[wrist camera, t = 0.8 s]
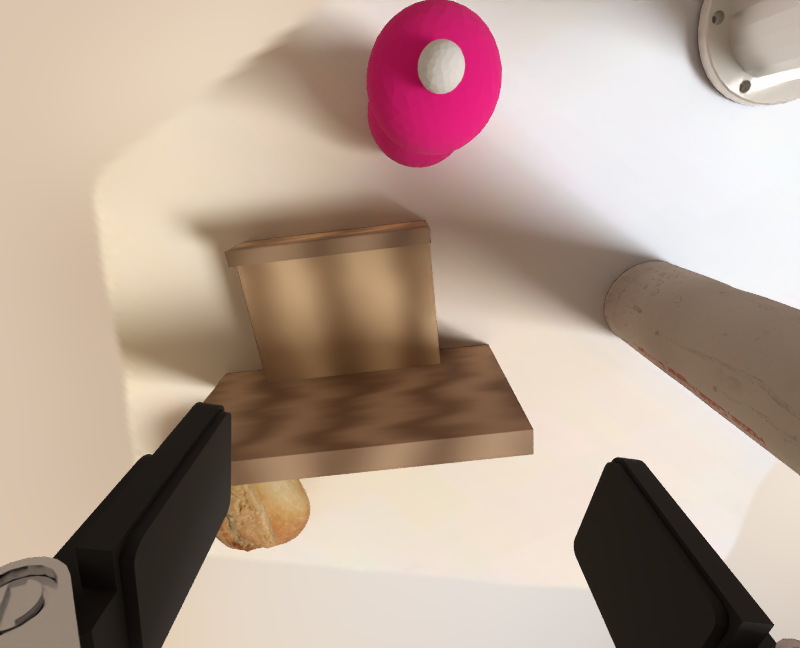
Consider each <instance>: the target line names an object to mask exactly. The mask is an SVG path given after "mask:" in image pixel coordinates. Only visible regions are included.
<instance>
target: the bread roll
mask: <svg viewBox="0 0 800 648" xmlns="http://www.w3.org/2000/svg"><path fill="white" fill-rule="evenodd" d="M309 515H310V503H309V499H308V497H307V494H306V492H305V490H304V489H303V487H302V485H301V483H300V481H299V479H292V480H282V481H273V482H263V483H254V484H244V485H235V486H231V501H230V506H229V509H228V512H227V515H226V517H225V519H224V521H223V523H222V525H221V527H220V529H219V531H218V533H217V535H216V538H217V539H219V540H220V541H221V542H222V543H224V544H225V545H226V546H228V547H230V548H233V549H240V550H245V551H247V552H248V551H250V550H253V549H256V548H261V547H264V548H269V547H273V546H277V545H280V544H283V543H287V542H288V541H290V540H292V539H294V538H296V537H297V536H298V535H299V534H300V532H301V531H302V530H303V529H304V527H305V525H306V523H307V521H308V519H309Z"/></svg>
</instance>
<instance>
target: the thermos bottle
mask: <svg viewBox="0 0 800 648" xmlns="http://www.w3.org/2000/svg"><path fill="white" fill-rule="evenodd" d="M604 314H605V319H606V322H607V324H608V326H609V328H610V329H611V330H612V331H613V332H614V333H615V334H616V335H617V336H618V337H619V338H621V339H622V340H623V341H625V342H626V343H627V344H629V345H630V346H631V347H633V348H634V349H635V350H636V351H638V352H639V353H640V354H642V355H643V356H644V357H646V358H647V359H648V360H650V361H651V362H652V363H653V364H655V365H656V366H657V367H659V368H660V369H661V370H663V371H664V372H665V373H667V374H668V375H669V376H671V377H672V378H673V379H675V380H676V381H677V382H679V383H680V384H682V385H683V386H684V387H686V388H687V389H688V390H690V391H691V392H692V393H693V394H695V395H696V396H697V397H699V398H700V399H701V400H702V401H704V402H705V403H706V404H707V405H709V406H710V407H711V408H712V409H714V410H715V411H716V412H718V413H719V414H720V415H722V416H723V417H724V418H726V419H727V420H728V421H729V422H731V423H732V424H733V425H735V426H736V427H737V428H739V429H740V430H741V431H743V432H744V433H745V434H746V435H748V436H749V437H750V438H752V439H753V440H754V441H756V442H757V443H758V444H760V445H761V446H762V447H764V448H765V449H766V450H767V451H769V452H770V453H771V454H773V455H774V456H775V457H777V458H778V459H779V460H781V461H782V462H783V463H785V464H786V465H787V466H788V467H790V468H791V469H792V470H794V471H795V472H796V473H798V474H799V475H800V310H799V309H796V308H793V307H791V306H788V305H785V304H782V303H779V302H777V301H774V300H771V299H768V298H765V297H762V296H759V295H756V294H753V293H749V292H746V291H742V290H739V289H736V288H734V287H731V286H729V285H727V284H725V283H722V282H720V281H717V280H714V279H712V278H709V277H706V276H704V275H701V274H698V273H695V272H692V271H690V270H687V269H684V268H681V267H678V266H676V265H673V264H670V263H667V262H661V261H650V262H645V263H641V264H639V265H636V266H634V267H632V268H630V269H629V270H627V271H626V272H624V273H623V274H622V275H621V276H620V277H618V278H617V280H616V281H615V282H614V283H613V285H612V286H611V288H610V290H609V292H608V294H607V297H606V300H605V305H604Z"/></svg>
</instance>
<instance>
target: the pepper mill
mask: <svg viewBox="0 0 800 648" xmlns="http://www.w3.org/2000/svg"><path fill="white" fill-rule="evenodd" d="M501 76H502V66H501V61H500V55H499V50H498V48H497V45H496V42H495V39H494V37H493V35H492V33H491V32H490V30H489V28H488V27H487V25H486V24H485V23H484V22H483V20H482V19H481V18H480V17H479V16H478V15H477V14H476V13H474V12H473V11H471V10H470V9H469V8H467V7H466V6H463V5H461V4H459V3H456V2H454V1H449V0H425V1H421V2H418V3H414V4H412V5H410V6H408V7H407V8H405V9H403V10H402V11H401V12H399V13H398V14H397V15H395V16H394V17H393V18H392V19H391V20H390V21H389V22H388V23H387V24H386V25H385V26H384V28H383V29H382V31H381V33H380V34H379V36H378V37H377V39H376V42H375V44H374V46H373V49H372V52H371V55H370V59H369V63H368V69H367V92H368V98H369V102H368V121H369V127H370V130H371V133H372V135H373V137H374V139H375V142H376V143H377V145H378V146H379V147H380V149H381V150H382V151H383V152H384V153H385V154H386V155H387V156H388V157H389V158H391V159H392V160H394V161H396V162H397V163H399V164H402V165H405V166H409V167H426V166H431V165H434V164H436V163H438V162H440V161H442V160H444V159H445V158H447V157H448V156H449V155H450V154H451V153H452V152H453V151H454V150H456V149H459V148H461V147H462V146H464V145H465V144H467V143H468V142H470V141H471V140H472V139H473V138H474V137H475V136H477V135H478V134H479V133H480V132H481V130H482V129H483V128H484V127H485V125H486V124H487V123H488V121H489V119H490V117H491V115H492V113H493V112H494V109H495V107H496V104H497V101H498V98H499V94H500V88H501Z"/></svg>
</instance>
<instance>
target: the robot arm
mask: <svg viewBox="0 0 800 648" xmlns="http://www.w3.org/2000/svg"><path fill="white" fill-rule="evenodd" d="M698 46H699V52H700V57H701V62H702V65H703V67H704V69H705V72H706V74H707V77H708V78H709V79H710V81H711V82H712V84H713V85H714V86H715V88H716V89H717V90H718V91H720V92H721V93H722V94H723V95H724V96H725V97H727V98H729V99H731V100H733V101H735V102H737V103H740V104H744V105H749V106H770V105H776V104H782V103H786V102H789V101H793V100H796V99H799V98H800V0H704V1H703V5H702V8H701V13H700V20H699V26H698ZM231 419H232V418H231V413H230V412H225V409H224V406H222V405H217V404H210V403H202V402H198V403H196V404H195V405H194V406H193V407H192V409H191V410H190V411H189V412H188V413H187V415H186V416H185V417H184V418H183V419H182V420H181V422H180V423H179V424H178V425H177V426H176V428H175V429H174V430H173V431H172V432H171V434H170V435H169V436H168V437H167V438H166V440H165V441H164V442H163V443H162V444H161V445H160V447H159V448H158V449H157V450H156V451H155V453H154V454H153V455H151V454H147V455H145V456H143V457H141V458H140V459H139V460H138V461H137V462H136V463H135V465H134V466H133V467H132V468H131V469H130V470H129V472H128V473H127V474H126V475H125V476H124V477H123V478H122V480H121V481H120V482H119V483H118V484H117V485H116V486H115V487H114V489H113V490H112V491H111V492H110V493H109V495H108V496H107V497H106V498H105V499H104V500H103V501H102V503H101V504H100V505H99V506H98V507H97V508H96V509H95V510H94V512H93V513H92V514H91V515H90V516H89V517H88V519H87V520H86V521H85V522H84V523H83V524H82V525H81V526H80V528H79V529H78V530H77V531H76V532H75V533H74V535H73V536H72V537H71V538H70V539H69V540H68V541H67V542H66V544H65V545H64V546H63V547H62V548H61V549H60V550H59V552H58V553H57V554H56V555H55V556H54V557H53V558H48V557H33V558H26V559H22V560H19V561H15V562H11V563H9V564H7V565H4V566H2V567H0V648H161V647H162V645H163V643H164V641H165V639H166V637H167V635H168V633H169V631H170V629H171V627H172V625H173V623H174V621H175V618H176V617H177V615H178V613H179V611H180V609H181V607H182V604H183V603H184V600H185V598H186V596H187V594H188V592H189V590H190V588H191V586H192V584H193V582H194V580H195V578H196V576H197V574H198V572H199V570H200V568H201V566H202V564H203V562H204V560H205V558H206V556H207V554H208V552H209V550H210V548H211V545H212V543H213V541H214V539H215V537H216V535H217V533H218V531H219V529H220V527H221V525H222V523H223V521H224V519H225V517H226V515H227V512H228V509H229V506H230V501H231ZM574 552H575V556H576V558H577V560H578V563H579V565H580V567H581V570H582V572H583V574H584V576H585V579H586V581H587V583H588V585H589V588H590V590H591V592H592V594H593V597H594V599H595V601H596V604H597V606H598V608H599V610H600V612H601V615H602V617H603V619H604V622H605V624H606V626H607V628H608V631H609V633H610V635H611V638H612V640H613V642H614V644H615V647H616V648H800V641H799V640H796V639H782V640H780V641H779V642H777V643H776V642H775V641H774V639H773V638H772V637H771V635H770V634H769V631H770V630H771V629H772V627H773V626H774V624H773V623H772V622H771V620H770V619H769V618H768V616H767V615H766V614H765V613H764V612H763V610H762V609H761V608H760V607H759V605H758V604H757V603H756V602H755V600H754V599H753V598H752V597H751V595H750V594H749V593H748V592H747V590H746V589H745V588H744V587H743V585H742V584H741V583H740V582H739V580H738V579H737V578H736V577H735V576H734V574H733V573H732V572H731V571H730V569H729V568H728V567H727V565H726V564H725V563H724V562H723V560H722V559H721V558H720V557H719V555H718V554H717V553H716V552H715V550H714V549H713V548H712V547H711V545H710V544H709V543H708V542H707V540H706V539H705V538H704V537H703V535H702V534H701V533H700V532H699V530H698V529H697V528H696V527H695V525H694V524H693V523H692V522H691V521H690V519H689V518H688V517H687V516H686V514H685V513H684V512H683V511H682V509H681V508H680V507H679V506H678V504H677V503H676V502H675V501H674V499H673V498H672V497H671V496H670V494H669V493H668V492H667V491H666V489H665V488H664V487H663V486H662V484H661V483H660V482H659V481H658V479H657V478H656V477H655V476H654V474H653V473H652V472H651V471H650V469H649V468H648V467H647V466H646V464H645V463H644V462H642V461H640V460H635V459H628V458H620V457H617V458H615V459H613V460H612V462H609V463H607V464H606V466H605V467H604V470H603V472H602V475H601V477H600V479H599V482H598V484H597V487H596V489H595V491H594V494H593V496H592V499H591V501H590V504H589V506H588V508H587V511H586V513H585V516H584V518H583V520H582V523H581V525H580V528H579V530H578V532H577V535H576V537H575V540H574Z"/></svg>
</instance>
